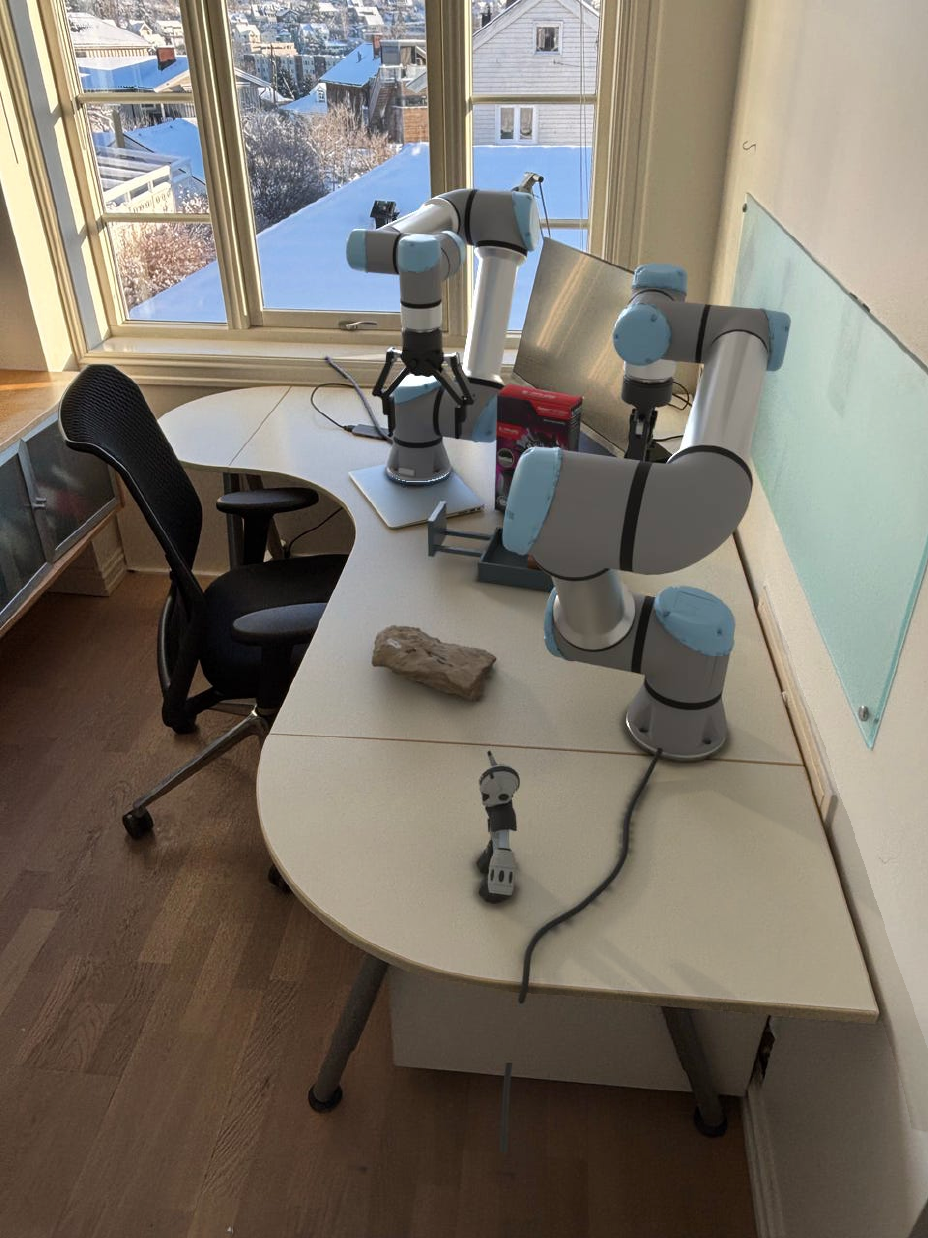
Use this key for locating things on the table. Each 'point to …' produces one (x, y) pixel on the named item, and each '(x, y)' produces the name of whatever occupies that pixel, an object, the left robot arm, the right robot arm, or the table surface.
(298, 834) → the table surface
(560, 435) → the graphics card box
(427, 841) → the table surface
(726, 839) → the table surface
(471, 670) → the stone
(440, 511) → the tray
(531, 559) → the walnut cube
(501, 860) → the robot
